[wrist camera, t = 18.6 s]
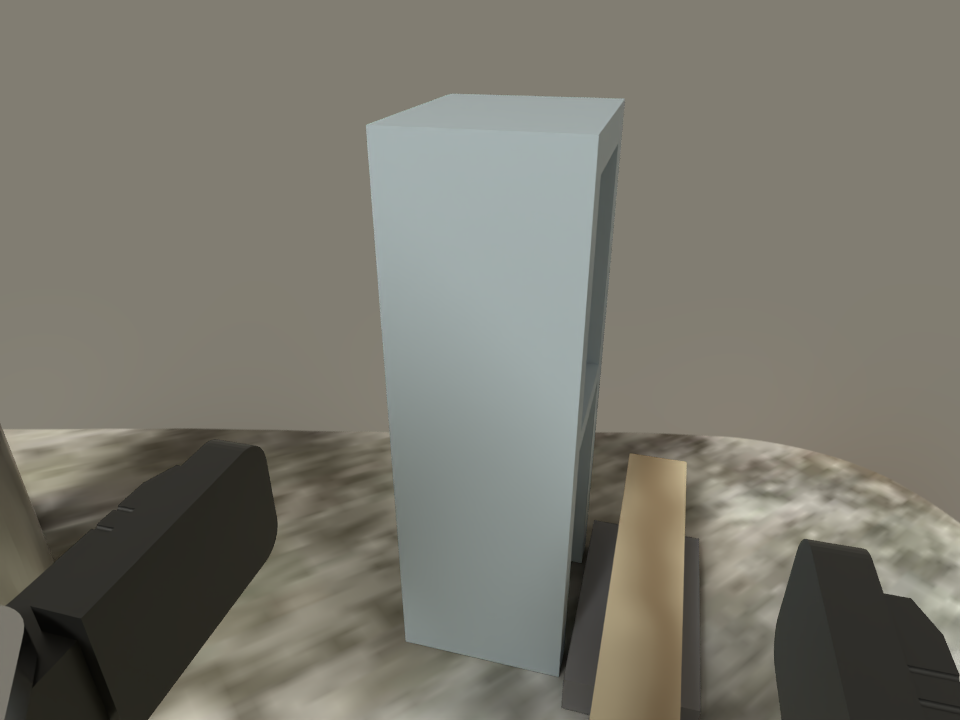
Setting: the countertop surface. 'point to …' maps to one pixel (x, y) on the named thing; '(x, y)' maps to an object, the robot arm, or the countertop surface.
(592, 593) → the charcoal block
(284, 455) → the countertop surface
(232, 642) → the countertop surface
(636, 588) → the maple bar
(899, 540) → the countertop surface
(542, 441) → the slate stand
